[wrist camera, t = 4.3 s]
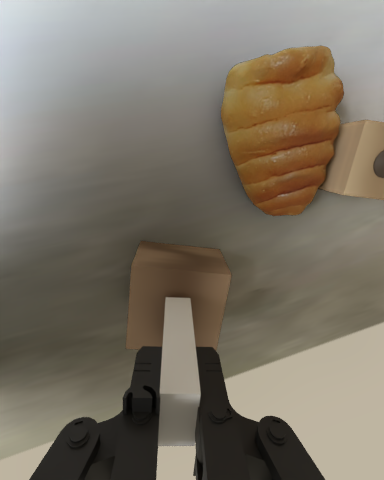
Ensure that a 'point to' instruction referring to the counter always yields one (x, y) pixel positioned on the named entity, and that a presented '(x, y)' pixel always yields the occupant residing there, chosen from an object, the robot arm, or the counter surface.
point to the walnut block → (176, 291)
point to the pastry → (282, 125)
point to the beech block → (357, 161)
